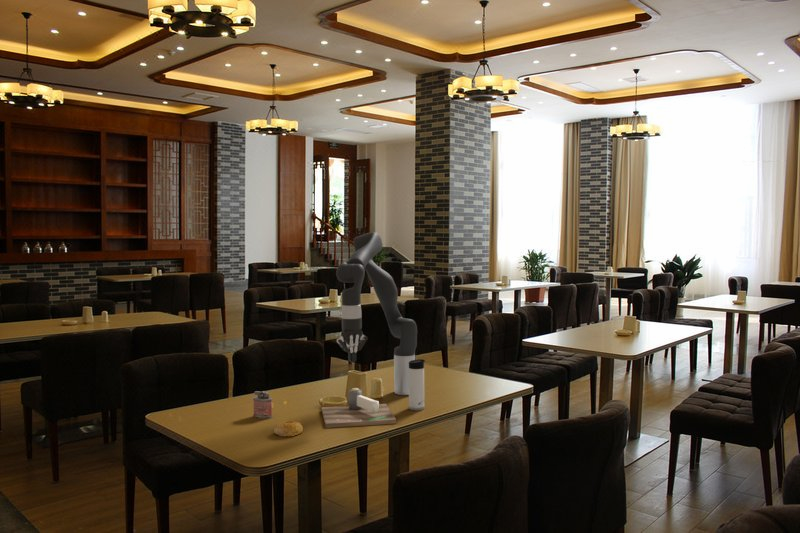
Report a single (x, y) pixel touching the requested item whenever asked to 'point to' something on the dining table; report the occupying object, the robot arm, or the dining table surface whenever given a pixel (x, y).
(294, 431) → the golden round bun
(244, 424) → the dining table surface
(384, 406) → the wooden cutting board
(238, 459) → the dining table surface
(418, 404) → the travel mug
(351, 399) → the mallet
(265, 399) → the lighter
